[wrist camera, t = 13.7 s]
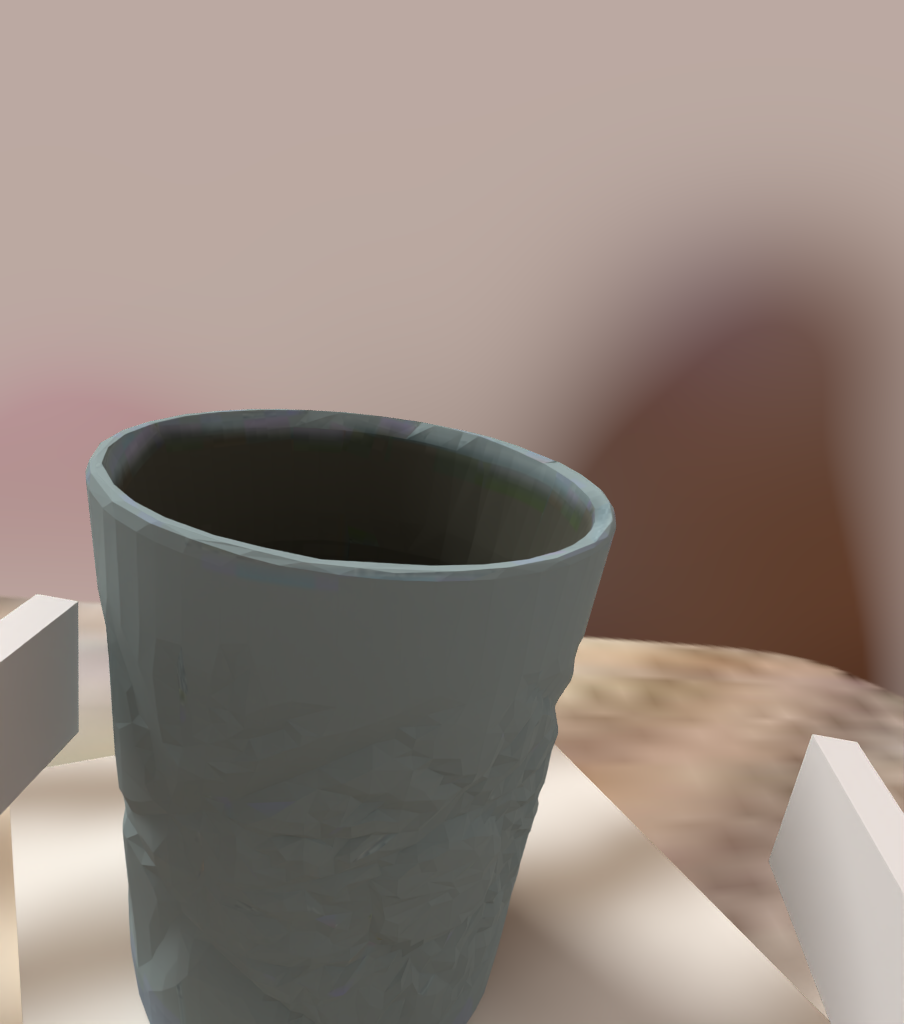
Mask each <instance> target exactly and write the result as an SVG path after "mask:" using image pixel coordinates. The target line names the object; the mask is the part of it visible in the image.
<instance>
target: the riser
mask: <svg viewBox="0 0 904 1024" xmlns="http://www.w3.org/2000/svg"><path fill="white" fill-rule="evenodd" d="M538 802H539V804H538V810H537V813H536V815H535V818H534V821H533V824H532V828H531V832H530V833H529V835H528V838H527V842H526V845H525V849H524V852H523V856H522V859H521V862H520V867H519V871H518V875H517V878H516V881H515V884H514V887H513V891H512V894H511V898H510V903H509V907H508V911H507V915H506V919H505V923H504V927H503V931H502V935H501V938H500V942H499V946H498V949H497V953H496V956H495V960H494V963H493V966H492V969H491V972H490V976H489V979H488V982H487V985H486V988H485V992H484V994H483V996H482V998H481V1000H480V1002H479V1004H478V1006H477V1008H476V1010H475V1012H474V1013H473V1015H472V1016H471V1018H470V1019H469V1020H468V1022H467V1023H466V1024H831V1023H830V1021H829V1020H828V1019H827V1018H826V1017H825V1016H824V1015H823V1014H822V1013H821V1012H820V1011H819V1010H818V1009H817V1008H816V1007H815V1006H814V1005H813V1004H812V1003H811V1002H810V1001H809V1000H808V999H807V998H806V997H805V996H804V995H803V994H802V993H801V992H800V991H799V990H798V989H797V988H796V987H795V986H794V985H793V984H792V983H791V982H790V981H789V980H788V979H787V978H786V977H785V976H784V975H783V974H782V973H781V972H780V971H779V970H778V969H777V968H776V967H775V966H774V965H773V964H772V963H771V962H770V961H769V960H768V959H767V958H766V957H765V956H764V955H763V954H762V953H761V952H760V951H759V950H758V949H757V948H756V947H755V946H754V945H753V944H752V943H751V942H750V940H749V939H748V938H747V937H746V936H745V935H744V934H743V933H742V932H741V931H740V930H739V929H738V928H737V927H736V926H735V925H734V924H733V923H732V922H731V921H730V920H729V919H728V918H727V917H726V916H725V915H724V914H723V913H722V912H721V911H720V910H719V909H718V908H717V907H716V906H715V905H714V904H713V903H712V902H711V901H710V900H709V899H708V898H707V897H706V896H705V895H704V894H703V893H702V892H701V891H700V890H699V889H698V888H697V887H696V886H695V885H694V884H693V883H692V882H691V881H690V880H689V879H688V878H687V877H686V876H685V875H684V874H683V873H682V872H681V871H680V870H679V869H678V868H677V867H676V866H675V865H674V864H673V863H672V862H671V861H670V860H669V859H668V858H667V857H666V856H665V855H664V854H663V853H662V852H661V851H660V850H659V849H658V848H657V847H656V846H655V845H654V844H653V843H652V842H651V841H650V840H649V839H648V838H647V837H646V836H645V835H644V834H643V833H642V832H641V831H640V830H639V829H638V828H637V827H636V826H635V825H634V824H633V823H632V822H631V821H630V820H629V819H628V818H627V817H626V816H625V815H624V814H623V813H622V812H621V811H620V810H619V809H618V808H617V807H616V806H615V805H614V804H613V803H612V802H611V801H610V800H609V799H608V798H607V797H606V796H605V795H604V794H603V793H602V792H601V791H600V790H599V789H598V788H597V787H596V786H595V785H594V784H593V783H592V782H591V781H590V780H589V779H588V778H587V777H586V776H585V775H584V774H583V773H582V772H581V771H580V770H579V769H578V768H577V767H576V766H575V765H574V764H573V763H572V761H571V760H570V759H569V758H568V757H567V756H566V755H565V754H564V753H563V752H562V751H561V750H560V749H559V748H558V747H557V746H556V745H555V744H554V746H553V749H552V752H551V757H550V761H549V766H548V771H547V775H546V779H545V783H544V785H543V787H542V789H541V791H540V793H539V797H538ZM124 812H125V802H124V797H123V794H122V792H121V791H120V789H119V784H118V775H117V767H116V758H115V755H114V756H108V757H102V758H96V759H91V760H85V761H79V762H74V763H68V764H62V765H56V766H51V767H45V768H44V769H43V770H42V771H41V772H40V773H39V774H38V775H37V776H36V778H35V779H34V780H33V781H32V782H31V783H30V784H29V785H28V786H27V787H26V788H25V789H24V790H23V791H22V793H21V794H20V795H19V796H18V797H17V798H16V799H15V800H14V801H13V802H12V803H11V804H10V805H9V806H8V807H7V809H6V810H5V811H4V812H3V813H2V814H1V815H0V1024H150V1022H149V1020H148V1017H147V1014H146V1012H145V1009H144V1006H143V1004H142V1001H141V998H140V995H139V991H138V986H137V980H136V975H135V969H134V964H133V958H132V952H131V943H130V927H129V904H128V878H127V869H126V860H125V850H124V840H123V818H124Z"/></svg>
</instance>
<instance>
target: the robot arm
mask: <svg viewBox="0 0 904 1024" xmlns="http://www.w3.org/2000/svg"><path fill="white" fill-rule="evenodd" d="M78 732H79V729H78V601H73V600H67V599H62V598H56V597H50V596H45V595H39V594H36V595H35V596H34V597H32V598H31V599H29V600H28V601H26V602H25V603H24V604H22V605H21V606H19V607H18V608H16V609H15V610H14V611H12V612H11V613H9V614H8V615H6V616H5V617H4V618H2V619H1V620H0V815H1V814H2V813H3V812H4V811H5V810H6V809H7V807H8V806H9V805H10V804H11V803H12V802H13V801H14V800H15V799H16V798H17V797H18V796H19V795H20V794H21V793H22V791H23V790H24V789H25V788H26V787H27V786H28V785H29V784H30V783H31V782H32V781H33V780H34V779H35V778H36V776H37V775H38V774H39V773H40V772H41V771H42V770H43V769H44V768H45V767H46V766H47V765H48V764H49V763H50V762H51V760H52V759H53V758H54V757H55V756H56V755H57V754H58V753H59V752H60V751H61V750H62V749H63V748H64V747H65V745H66V744H67V743H68V742H69V741H70V740H71V739H72V738H73V737H74V736H75V735H76V734H77V733H78ZM769 864H770V866H771V869H772V871H773V874H774V877H775V879H776V882H777V884H778V887H779V890H780V892H781V895H782V898H783V900H784V903H785V905H786V908H787V911H788V913H789V916H790V918H791V921H792V924H793V926H794V929H795V932H796V934H797V937H798V939H799V942H800V945H801V947H802V950H803V953H804V955H805V958H806V960H807V963H808V966H809V968H810V971H811V973H812V976H813V979H814V981H815V984H816V987H817V989H818V992H819V994H820V997H821V1000H822V1002H823V1005H824V1007H825V1010H826V1013H827V1015H828V1018H829V1021H830V1023H831V1024H904V813H903V812H902V810H901V809H900V807H899V806H898V804H897V803H896V801H895V800H894V798H893V797H892V795H891V794H890V792H889V790H888V789H887V787H886V786H885V784H884V783H883V781H882V780H881V778H880V777H879V775H878V774H877V772H876V771H875V769H874V767H873V766H872V764H871V763H870V761H869V760H868V758H867V757H866V755H865V754H864V752H863V751H862V749H861V748H860V746H859V744H858V743H857V742H853V741H848V740H842V739H836V738H831V737H825V736H820V735H814V734H812V737H811V740H810V742H809V745H808V748H807V751H806V754H805V757H804V760H803V763H802V766H801V769H800V772H799V774H798V777H797V780H796V783H795V786H794V789H793V792H792V795H791V798H790V801H789V803H788V806H787V809H786V812H785V815H784V818H783V821H782V824H781V827H780V830H779V833H778V835H777V838H776V841H775V844H774V847H773V850H772V853H771V856H770V859H769Z"/></svg>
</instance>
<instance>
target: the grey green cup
mask: <svg viewBox="0 0 904 1024" xmlns="http://www.w3.org/2000/svg"><path fill="white" fill-rule="evenodd" d="M86 484H87V493H88V502H89V512H90V521H91V529H92V538H93V548H94V557H95V567H96V576H97V585H98V591H99V596H100V601H101V605H102V610H103V614H104V619H105V624H106V632H107V643H108V653H109V669H110V685H111V700H112V715H113V730H114V745H115V758H116V767H117V775H118V784H119V789H120V791H121V792H122V794H123V797H124V802H125V812H124V818H123V840H124V850H125V860H126V869H127V878H128V904H129V927H130V943H131V952H132V958H133V964H134V969H135V975H136V980H137V986H138V991H139V995H140V998H141V1001H142V1004H143V1006H144V1009H145V1012H146V1014H147V1017H148V1020H149V1022H150V1024H466V1023H467V1022H468V1020H469V1019H470V1018H471V1016H472V1015H473V1013H474V1012H475V1010H476V1008H477V1006H478V1004H479V1002H480V1000H481V998H482V996H483V994H484V992H485V988H486V985H487V982H488V979H489V976H490V972H491V969H492V966H493V963H494V960H495V956H496V953H497V949H498V946H499V942H500V938H501V935H502V931H503V927H504V923H505V919H506V915H507V911H508V907H509V903H510V898H511V894H512V891H513V887H514V884H515V881H516V878H517V875H518V871H519V867H520V862H521V859H522V856H523V852H524V849H525V845H526V842H527V838H528V835H529V833H530V832H531V828H532V824H533V821H534V818H535V815H536V813H537V810H538V804H539V802H538V797H539V793H540V791H541V789H542V787H543V785H544V783H545V779H546V775H547V771H548V766H549V761H550V757H551V752H552V749H553V746H554V743H555V740H556V738H557V735H558V725H557V719H556V713H555V705H556V703H557V701H558V699H559V697H560V696H561V694H562V693H563V691H564V690H565V688H566V687H567V685H568V684H569V682H570V681H571V678H572V675H573V671H574V660H575V656H576V652H577V649H578V646H579V644H580V642H581V640H582V638H583V636H584V633H585V630H586V627H587V623H588V619H589V616H590V613H591V609H592V606H593V603H594V599H595V595H596V592H597V589H598V585H599V582H600V579H601V576H602V572H603V569H604V566H605V562H606V559H607V556H608V552H609V549H610V546H611V542H612V539H613V536H614V532H615V529H616V521H615V513H614V508H613V507H612V505H611V504H610V502H609V501H608V499H607V497H606V496H605V494H604V493H603V492H602V491H601V490H600V489H599V488H598V487H597V486H595V485H594V484H593V483H591V482H590V481H589V480H588V479H586V478H585V477H584V476H582V475H581V474H579V473H577V472H576V471H574V470H572V469H570V468H568V467H567V466H565V465H563V464H561V463H559V462H556V461H554V460H551V459H548V458H546V457H544V456H541V455H539V454H536V453H534V452H531V451H529V450H526V449H524V448H521V447H519V446H516V445H513V444H510V443H507V442H504V441H501V440H497V439H495V438H491V437H487V436H483V435H479V434H476V433H472V432H467V431H462V430H457V429H452V428H447V427H443V426H438V425H433V424H428V423H423V422H417V421H409V420H402V419H396V418H389V417H382V416H373V415H363V414H355V413H346V412H329V411H313V410H288V409H287V410H286V409H247V410H229V411H214V412H204V413H196V414H195V413H194V414H185V415H179V416H175V417H170V418H165V419H160V420H155V421H150V422H146V423H143V424H140V425H138V426H134V427H131V428H128V429H125V430H122V431H121V432H119V433H117V434H115V435H114V436H112V437H110V438H108V439H107V440H105V441H103V442H101V443H100V444H99V446H98V448H97V449H96V451H95V452H94V454H93V455H92V457H91V458H90V460H89V463H88V466H87V469H86Z"/></svg>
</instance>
